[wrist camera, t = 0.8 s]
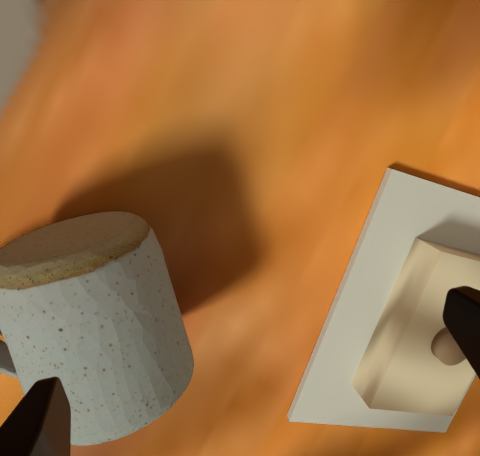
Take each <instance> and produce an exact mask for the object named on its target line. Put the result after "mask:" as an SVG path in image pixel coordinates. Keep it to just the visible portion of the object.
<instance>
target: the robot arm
mask: <svg viewBox="0 0 480 456" xmlns="http://www.w3.org/2000/svg"><path fill="white" fill-rule="evenodd" d="M442 317H443V322H444V324H445V326H446V328H447V329H448V331H449V332H450V334H451V335H452V337H453V339H454V340H455V342H456V343H457V345H458V346H459V348H460V349H461V351H462V353H463V354H464V356H465V357H466V359H467V360H468V362H469V364H470V365H471V367H472V368H473V370H474V371H475V373H476V374H477V376H478V377H479V379H480V290H477V289H474V288H472V287H469V286H460V287H455V288H451V289H449V291H448V292H447V295H446V300H445V305H444V309H443V314H442ZM70 445H71V408H70V403H69V400H68V398H67V395H66V392H65V390H64V387H63V385H62V382H61V380H60V379H59V377H56V376H54V377H50V378H45V379H41V380H38V381H36V382H35V383H34V384H33V386H32V387H31V388H30V389H29V391H28V392H27V393H26V395H25V396H24V397H23V398H22V400H21V401H20V402H19V404H18V405H17V406H16V407H15V409H14V410H13V411H12V413H11V414H10V415H9V416H8V418H7V419H6V420H5V422H4V423H3V424H2V425H1V427H0V456H70Z"/></svg>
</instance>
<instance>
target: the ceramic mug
mask: <svg viewBox="0 0 480 456" xmlns="http://www.w3.org/2000/svg"><path fill="white" fill-rule="evenodd" d="M0 330H1V333H2V335H3V337H4V339H5V341H6V343H5V342H3V341H2V340H0V373H3V374H6V375H9V376H12V377H16V378H19V381H20V384H21V387H22V389H23V392H24V394H25V395H26V393H27V392H28V391H29V389H30V388H31V387H32V386H33V384H34V383H35V382H36V381H38V380H41V379H45V378H50V377H54V376H56V377H59V379H60V380H61V382H62V385H63V387H64V390H65V392H66V395H67V398H68V400H69V403H70V408H71V445H78V446H84V445H94V444H101V443H104V442H106V441H113V440H116V439H119V438H122V437H124V436H127V435H129V434H131V433H133V432H136V431H138V430H140V429H141V428H143V427H145V426H146V425H148V424H150V423H151V422H153V421H154V420H156V419H158V418H159V417H160V416H161V415H163V414H164V413H165V412H166V411H167V410H169V409H170V408H171V407H172V406H173V404H174V403H175V402H176V401H177V400H178V399H179V398H180V396H181V395H182V394H183V392H184V391H185V389H186V388H187V386H188V384H189V382H190V380H191V377H192V373H193V367H194V359H193V354H192V350H191V346H190V343H189V340H188V337H187V334H186V330H185V327H184V323H183V320H182V316H181V313H180V309H179V306H178V303H177V299H176V296H175V293H174V290H173V287H172V283H171V280H170V276H169V273H168V269H167V266H166V262H165V259H164V255H163V251H162V248H161V246H160V244H159V242H158V240H157V238H156V236H155V234H154V231H153V229H152V228H151V226H150V225H149V224H148V222H147V221H146V220H145V219H143V218H142V217H140V216H138V215H136V214H134V213H130V212H123V211H109V212H100V213H94V214H88V215H83V216H79V217H75V218H70V219H67V220H63V221H60V222H57V223H54V224H50V225H48V226H45V227H42V228H40V229H37V230H35V231H32V232H30V233H28V234H25V235H23V236H21V237H19V238H17V239H15V240H14V241H12V242H10V243H9V244H7V245H6V246H4V247H3V248H1V249H0Z"/></svg>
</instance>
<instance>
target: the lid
mask: <svg viewBox="0 0 480 456" xmlns="http://www.w3.org/2000/svg"><path fill="white" fill-rule="evenodd" d="M460 286H469V287H472V288H474V289H477V290H480V254H477V253H473V252H469V251H466V250H462V249H458V248H454V247H450V246H447V245H443V244H439V243H435V242H431V241H428V240H424V239H420V238H416V237H415V239H414V242H413V244H412V246H411V248H410V251H409V253H408V255H407V258H406V260H405V262H404V264H403V267H402V269H401V271H400V273H399V276H398V278H397V280H396V282H395V285H394V287H393V289H392V292H391V294H390V296H389V298H388V301H387V303H386V305H385V307H384V310H383V312H382V314H381V316H380V319H379V321H378V323H377V326H376V328H375V330H374V332H373V335H372V337H371V339H370V341H369V344H368V346H367V348H366V350H365V353H364V355H363V357H362V360H361V362H360V364H359V366H358V369H357V371H356V373H355V375H354V378H353V380H352V382H351V384H352V386H353V387H354V388H355V390H356V391H357V393H358V394H359V395H360V397H361V398H362V399H363V401H364V402H365V403H366V405H367V406H368V407H369V409H380V410H391V411H402V412H413V413H424V414H435V415H446V416H453V414H454V412H455V410H456V408H457V406H458V405H459V403H460V401H461V399H462V397H463V395H464V393H465V391H466V389H467V387H468V386H469V384H470V382H471V380H472V378H473V376H474V374H475V371H474V370H473V368H472V367H471V365H470V364H469V362H468V360H467V359H466V357H465V356H464V354H463V353H462V351H461V349H460V348H459V346H458V345H457V343H456V342H455V340H454V339H453V337H452V335H451V334H450V332H449V331H448V329H447V328H446V326H445V324H444V322H443V317H442V314H443V309H444V305H445V300H446V295H447V292H448V291H449V289H451V288H455V287H460Z"/></svg>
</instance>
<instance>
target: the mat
mask: <svg viewBox="0 0 480 456" xmlns="http://www.w3.org/2000/svg"><path fill="white" fill-rule="evenodd" d="M415 237H416V238H420V239H424V240H428V241H431V242H435V243H439V244H443V245H447V246H450V247H454V248H458V249H462V250H466V251H469V252H473V253H477V254H480V197H477V196H474V195H471V194H468V193H465V192H462V191H459V190H456V189H452V188H449V187H446V186H443V185H440V184H437V183H434V182H431V181H428V180H425V179H422V178H418V177H415V176H412V175H409V174H406V173H403V172H400V171H397V170H394V169H391V168H388V167H387V170H386V172H385V175H384V177H383V180H382V182H381V184H380V187H379V189H378V192H377V194H376V197H375V199H374V202H373V204H372V207H371V209H370V212H369V214H368V217H367V219H366V221H365V224H364V226H363V229H362V231H361V234H360V236H359V239H358V241H357V244H356V246H355V249H354V251H353V254H352V256H351V258H350V261H349V263H348V266H347V268H346V271H345V273H344V276H343V278H342V281H341V283H340V286H339V288H338V291H337V293H336V296H335V298H334V300H333V303H332V305H331V308H330V310H329V313H328V315H327V318H326V320H325V323H324V325H323V328H322V330H321V333H320V335H319V337H318V340H317V342H316V345H315V347H314V350H313V352H312V355H311V357H310V360H309V362H308V365H307V367H306V370H305V372H304V374H303V377H302V379H301V382H300V384H299V387H298V389H297V392H296V394H295V397H294V399H293V402H292V404H291V407H290V409H289V411H288V414H287V418H288V420H289V421H291V422H305V423H319V424H332V425H346V426H360V427H374V428H387V429H401V430H415V431H428V432H442V433H446V431H447V429H448V427H449V425H450V423H451V421H452V420H453V418H454V416H455V414H456V412H457V410H458V408H459V406H460V404H461V402H462V401H463V399H464V397H465V395H466V393H467V391H468V389H469V387H470V385H471V383H472V382H473V380H474V378H475V376H476V373H475V374H474V376H473V378H472V380H471V382H470V384H469V386H468V387H467V389H466V391H465V393H464V395H463V397H462V399H461V401H460V403H459V405H458V406H457V408H456V410H455V412H454V414H453V416H446V415H435V414H424V413H413V412H402V411H391V410H380V409H369V407H368V406H367V405H366V403H365V402H364V401H363V399H362V398H361V397H360V395H359V394H358V393H357V391H356V390H355V388H354V387H353V386H352V384H351V382H352V380H353V378H354V375H355V373H356V371H357V369H358V366H359V364H360V362H361V360H362V357H363V355H364V353H365V350H366V348H367V346H368V344H369V341H370V339H371V337H372V335H373V332H374V330H375V328H376V326H377V323H378V321H379V319H380V316H381V314H382V312H383V310H384V307H385V305H386V303H387V301H388V298H389V296H390V294H391V292H392V289H393V287H394V285H395V282H396V280H397V278H398V276H399V273H400V271H401V269H402V267H403V264H404V262H405V260H406V258H407V255H408V253H409V251H410V248H411V246H412V244H413V242H414V239H415Z"/></svg>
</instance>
